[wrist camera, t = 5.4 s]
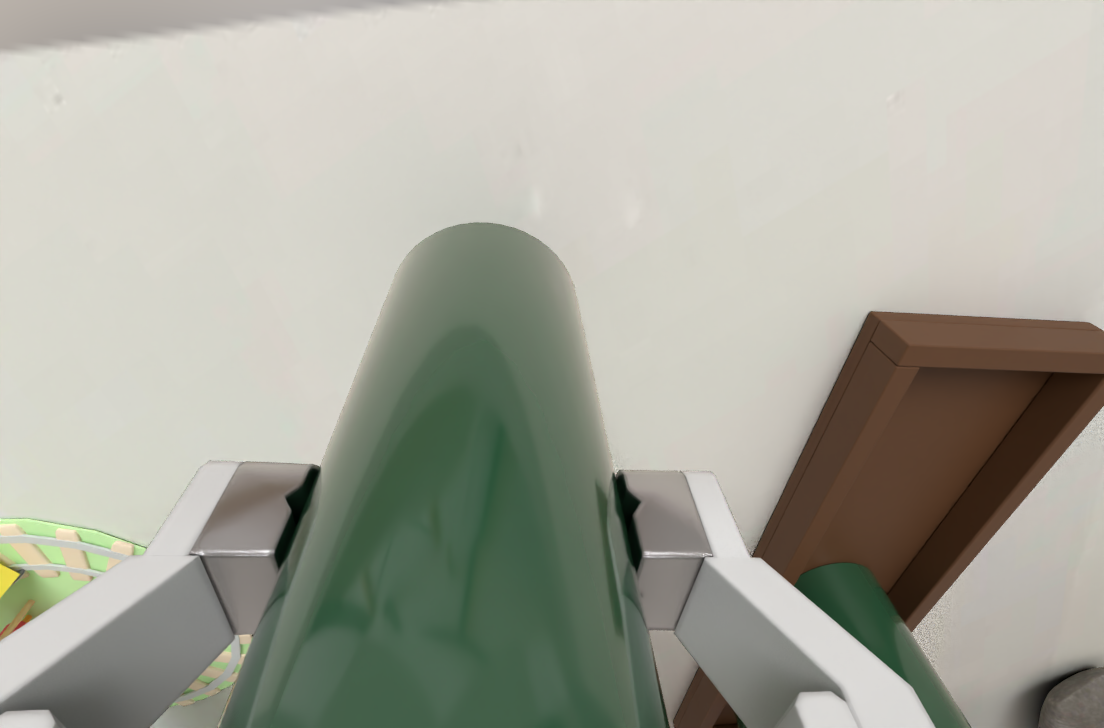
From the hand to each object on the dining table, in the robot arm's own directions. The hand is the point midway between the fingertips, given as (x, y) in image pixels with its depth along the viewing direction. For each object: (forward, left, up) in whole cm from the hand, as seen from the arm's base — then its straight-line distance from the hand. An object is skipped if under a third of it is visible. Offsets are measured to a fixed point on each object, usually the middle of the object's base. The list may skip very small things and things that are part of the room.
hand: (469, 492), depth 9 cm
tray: (-17, +16, -9) cm, 25 cm away
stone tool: (-43, +31, -8) cm, 54 cm away
